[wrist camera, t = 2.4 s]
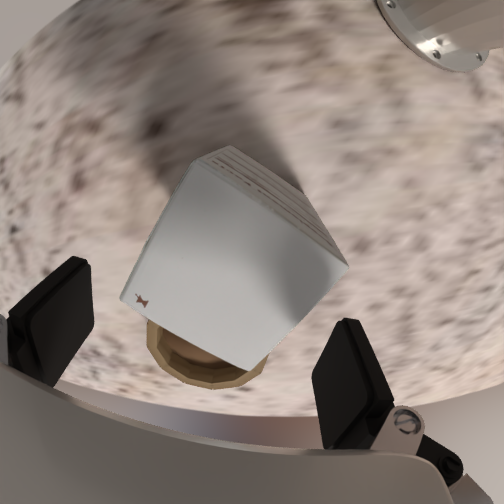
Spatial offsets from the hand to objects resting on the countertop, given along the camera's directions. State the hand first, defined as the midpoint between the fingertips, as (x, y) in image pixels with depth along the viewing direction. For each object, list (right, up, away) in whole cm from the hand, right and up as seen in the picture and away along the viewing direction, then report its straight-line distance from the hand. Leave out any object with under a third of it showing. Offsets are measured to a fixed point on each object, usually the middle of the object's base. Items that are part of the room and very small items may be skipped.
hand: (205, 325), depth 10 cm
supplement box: (+1, +6, +13) cm, 15 cm away
